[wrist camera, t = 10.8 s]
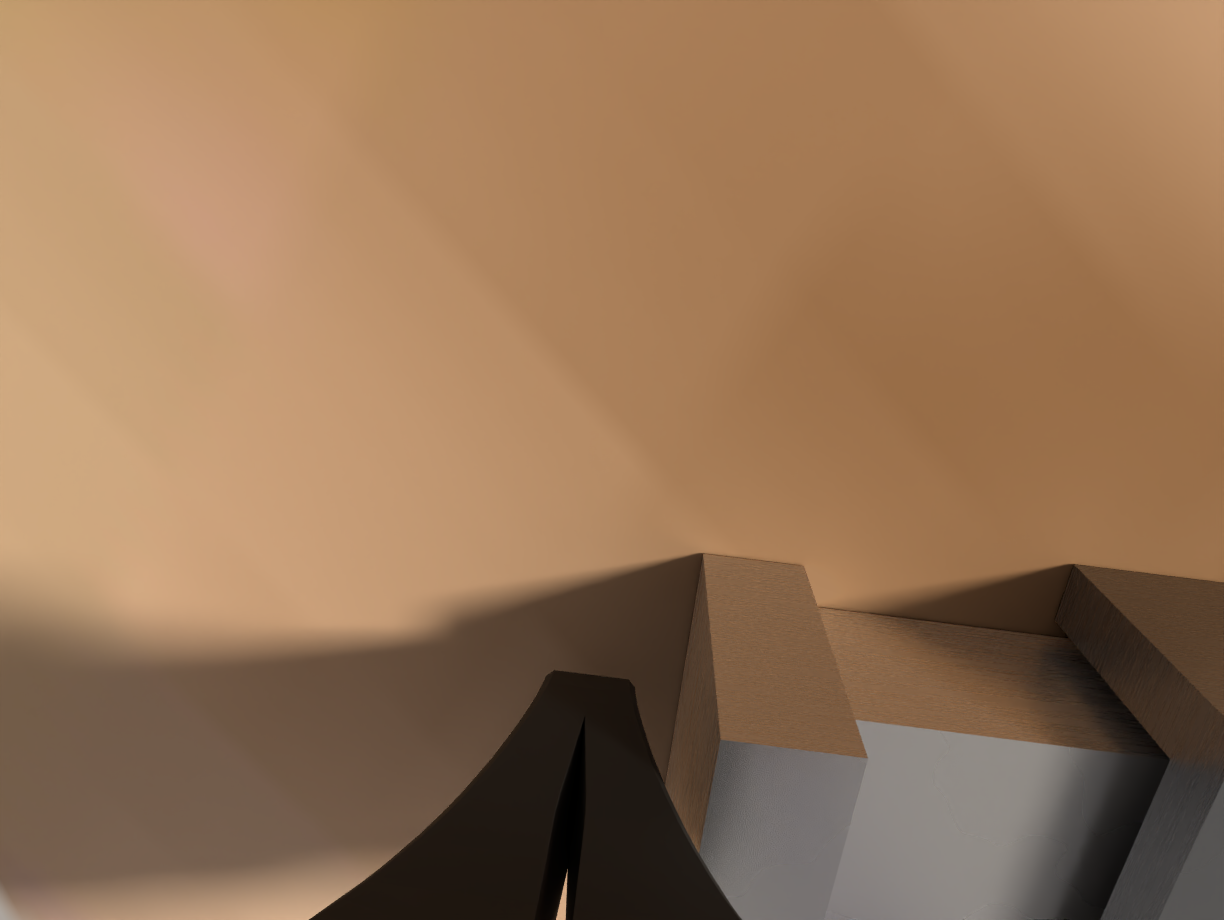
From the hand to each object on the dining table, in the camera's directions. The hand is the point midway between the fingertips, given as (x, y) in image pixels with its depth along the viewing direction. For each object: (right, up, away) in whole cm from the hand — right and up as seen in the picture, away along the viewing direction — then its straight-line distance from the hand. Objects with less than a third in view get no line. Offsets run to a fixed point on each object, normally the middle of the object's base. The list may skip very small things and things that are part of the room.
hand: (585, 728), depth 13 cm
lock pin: (+8, 0, +1) cm, 8 cm away
